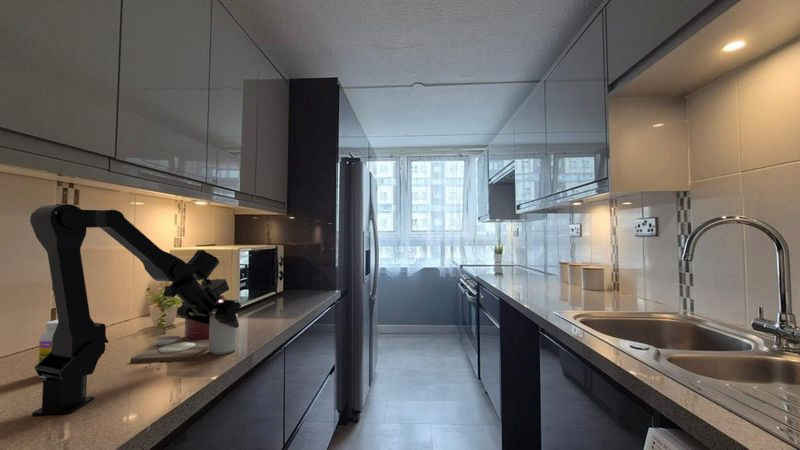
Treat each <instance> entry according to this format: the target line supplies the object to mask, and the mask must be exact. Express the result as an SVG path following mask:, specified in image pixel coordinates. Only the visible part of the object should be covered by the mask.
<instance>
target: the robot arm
mask: <svg viewBox="0 0 800 450" xmlns="http://www.w3.org/2000/svg"><path fill="white" fill-rule="evenodd" d="M29 219H30V224H31V228H32V230H33V232H34V235H35V237H36V239H37V240H38V242H39V243H40V244H41V245H42V247H43V248H44V250H45V251H46V253H47V259H48V264H49V265H48V266H49V271H50V278H51V283H52V289H53V290H52V291H53V296H54V302H55V303H54V304H55V309H56V315H57V316H56V317H57V320H58V325H57V328H56V330H55V333H54V335H53V338H52V351H51V352H50V353H49V354H48V355H47V356H45V357H44V358H43V359H42V360H41V361H40V362H39V363H38V362H37V364H36V365H35V366H34V370H35V373H36V375H37V377H38V376H43V377H46V378H44V380H43V381H42V395H41V401H42V402H41V407H40V408H39V409H37V410H35V411H33V412H32V413H31V416H34V417H35V416H47V415H49V416H51V415H64V414H65V415H66V414H71V413H73V412H75V411H76V410H78V409H80V408H81V407H83V406H84V405H86V404H88V403H89V402H91V401H92V400H95V399H94V398H95V396H92V395H91V396H87V383H88V382H87V381H88V380H87V379H88V375H92V374H94V372H95V369H96V368H97V364H98V362H99V360H100V359H101V357H102V355H103V354H105V352H106V344H108V343H109V340H108V338H107V334H106V332H107V327H106V324H105V323H102V322H101V323H100V322H94V320H93V319H92V317H91V315H90V313H91V312H90V305H89V301H88V300H89V299H88V293H87V286H86V280H85V272H84V267H83V259H82V254H81V251H82V250H81V248H82V245H83V243H84V241H85V238H86V235H87V228H88V229H91V228H100V229H101V230H102V231H104V232H105V233H106V234H108V236H110V237H111V238H112V239H114V240H115V241H116V242H118V244H120V245H121V246H122V247H124V248H125V249H126V250H127V251H128V252H130V253H131V254H132V255H133V256H135V257H136V258H137V259H138V260H139V261H140V262H141V263H142V264H143V267H144V268H143V269H144V270H145V272H147V274H148V275H149V277H151V278H152V279H153V280H154V281H157V282H167V283H168V282H170V284H169V285H165V286H164V291H163V297H168V298H175V297H176V296H177V297H178V298H179V299H180V300H181V301H182V303H181V306H180V307H179V308H178V309H177V315H178V317H180V318H181V319H184V320H185V319H187V320H192V321H196V322H200V323H204V324H208V325H210V316H211V315H210V314H209V313H210V312H216V313H215V319H216V320H217V321H219V323H222V324H225V325H228V326H231V327H234V328H239V325H240V324H239V319H238V320H237V317H236V314H237V313H238V311H239V310H240V308H241V307H242V303H241V302H240V301H239V300H238V299H228V298H227V300H224V302H223V303H222V304H218V303H216V302H217V301H219V300H220V299H221V298H220V297H219V296H220V295H222V294H223V293H226V292H228V291H230V287H229V284H228V281H227V279H225V278H215V279H210V278H209V277H210V275H212V273H213V272H214V271H215V269H216V268H217V267H218V266H219V264H220V260H219V259H218V257H216V256H215V255H213V254H211V253H209V252H206V250H205V249H198V250H196V252H194V254H193V256H192V257H191V258H190V259H189V260H188V262H186V261H184V260H183V259H181V258H180V257H178V256H176V255H174V254H173V253H170V252H168V251H165V250H163V249H162V248H160V247H159V246H157V244H155V242H153V241H152V240H151V239H150V238H149V237H148V236H146V234H144V233H143V232H142V231H141V230H140V229H139V228H137V226H135V225H134V224H133V223H132V222H131V221H130V220H128V219H127V218H126V217H125V215H124V214H123V212H122V211H119V210H118V209H81V208H80V207H79V206H78V205H74V204H70V203H69V204H68V203H65V204H64V203H63V204H61V203H60V204H52V205H51V204H50V205H49V204H48V205H42V206H40V207H38V208H36V209H35V210H34V211H33V212H32V213H31V214H30V218H29ZM199 281H201V282H199Z"/></svg>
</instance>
